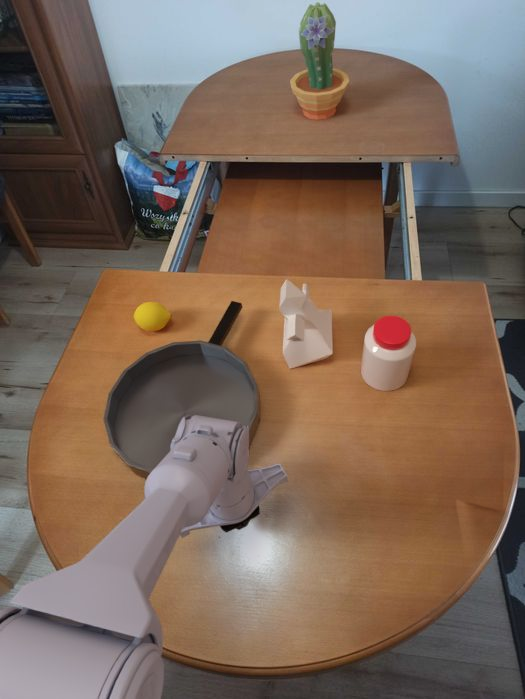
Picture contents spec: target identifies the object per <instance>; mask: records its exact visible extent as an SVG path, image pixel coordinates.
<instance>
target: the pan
mask: <svg viewBox="0 0 525 699" xmlns="http://www.w3.org/2000/svg"><path fill="white" fill-rule="evenodd" d="M242 309H243V304H242V302H238V301H235V300H231V301H230V302H229V305H228V307H227V308H226V310H225V312H224V313H223V315H222V317H221V319H220V321H219V322H218V324H217V326H216V328H215V330H214V331H213V333H212V335H211V337H210V338H209V340H208V341H204V340H185V341H172V342H170V343H168V344H165V345H163V346H160V347H158V348H154V349H152V350H149V351H147V352H145V353H143V355H141V356H139V358H137V359H136V360H135V361H133V362H132V363H131V364H130V365H128V366H127V367H126V368H124V370H122V372H121V374H120V376H119V377H118V379H117V380H116V381H115V383H114V384H113V386H112V387H111V389H110V391H109V392H108V395H107V400H106V405H105V409H104V415H103V419H102V420H103V424H104V427H105V432H106V435H107V438H108V442H109V446H110V447H111V449H112V450H113V451H114V452H115V454H116V455H117V456H118V458H120V460H121V461H122V462H123V463H124V464H125V465H126V466H127V467H128V468H129V469H130V470H131V471H132V472H133V474H135V475H137V476H140V477H141V478H144V479H147V477H148V476H149V474H150V473H151V472H152V471H153V470H154V469H155V467H156V466H157V465H158V464H159V463H160V462H161V461H162V460H163V459H164V457H165V456H166V455H167V454H168V453H169V452H170V447H171V443H172V439H173V438H174V437H175V435H176V432H177V429H178V426H179V424H180V422H181V420H182V418H183V417H185V416H186V415H191V416H194V415H199V416H205V417H211V418H218V419H224V420H230V421H236V422H240V423H241V424H242V426H246V428H247V425H248V426H249V445H250V444H251V443H252V441H253V439H254V437H255V435H256V432H257V429H258V426H259V423H260V419H261V418H260V415H261V414H260V413H261V412H260V411H261V408H260V391H259V385H258V383H257V380H256V379H255V377H254V375H253V373H252V371H251V369H250V367H249V365H248V363H247V362H246V361H245V360H243V359H242V358H241V357H240V356H238V355H237V354H236V353H234V352H233V351H232V350H231V349H229V348H228V347H226V346H223V344H224V342H225V340H226V339H227V337H228V335H229V333H230V331H231V330H232V328H233V326H234V324H235V322H236V321H237V319H238V316H239V315H240V314H241V311H242Z"/></svg>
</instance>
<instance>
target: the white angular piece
mask: <svg viewBox="0 0 525 699" xmlns="http://www.w3.org/2000/svg"><path fill="white" fill-rule="evenodd" d="M278 310H279V313H280V314H281V315H282V316H283V317H284V322H283V338H282V339H283V340H282V355H283V357H284V360H285V362H286V365H287V366H288V369H294V368H298V367H301V366H305V365H309V364H312V363H316V362H319V361H323V360H326V359H327V358H329V357H330V356H332V355H333V353H334V351H333V349H334V348H333V309H318V307H317V306H316V304H315V303H314V302H313V301H312V299H311V298H310V288H309V285H308V283H302V289H301V288H299V287H298V286H297V285H296V284H294V283H293V282H292V281H291V280H289V279H288V278H286V279H285V281H284V282H283V284H282V286H281V287H280V292H279V307H278Z"/></svg>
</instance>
